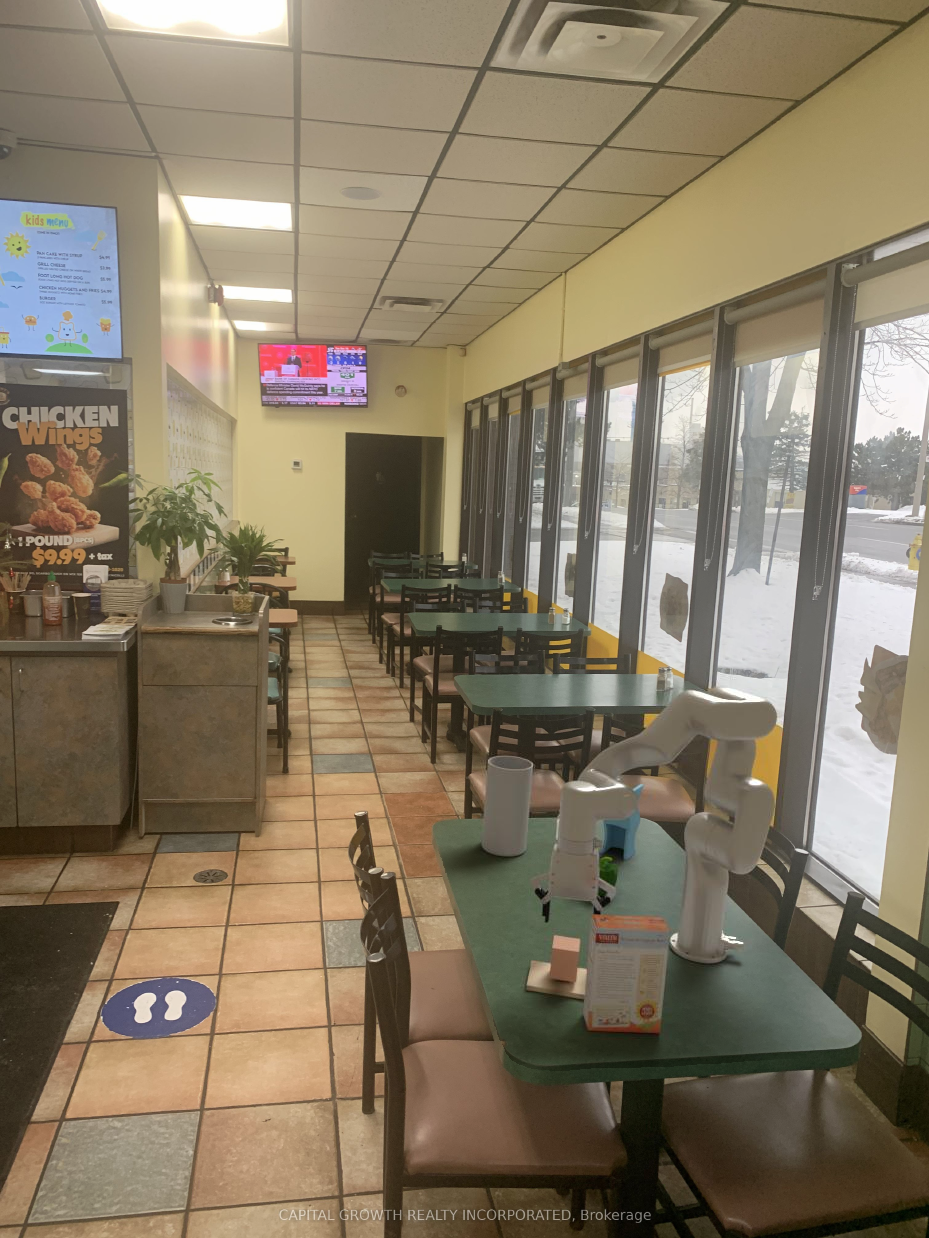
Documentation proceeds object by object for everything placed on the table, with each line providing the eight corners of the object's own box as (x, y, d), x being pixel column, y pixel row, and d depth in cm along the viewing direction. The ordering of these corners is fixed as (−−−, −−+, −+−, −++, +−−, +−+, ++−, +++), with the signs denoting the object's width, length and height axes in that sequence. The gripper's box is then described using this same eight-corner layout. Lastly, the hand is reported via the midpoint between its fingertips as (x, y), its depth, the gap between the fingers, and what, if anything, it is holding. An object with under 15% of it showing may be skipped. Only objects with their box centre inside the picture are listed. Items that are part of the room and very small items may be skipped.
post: (597, 975, 188) (601, 939, 186) (596, 1001, 178) (599, 963, 177) (531, 964, 190) (534, 929, 189) (526, 989, 180) (529, 952, 179)
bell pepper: (574, 890, 227) (578, 853, 226) (595, 883, 233) (599, 846, 231) (600, 903, 221) (604, 865, 220) (621, 895, 227) (625, 858, 225)
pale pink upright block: (577, 968, 186) (580, 938, 185) (576, 982, 181) (579, 951, 180) (551, 964, 187) (554, 935, 186) (549, 978, 181) (552, 947, 180)
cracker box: (652, 1016, 174) (663, 915, 171) (660, 1035, 168) (672, 931, 165) (581, 1012, 174) (591, 911, 171) (586, 1031, 168) (597, 927, 165)
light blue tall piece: (636, 851, 256) (643, 784, 253) (626, 860, 249) (633, 791, 246) (611, 844, 260) (617, 778, 257) (600, 852, 253) (607, 784, 250)
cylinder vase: (505, 836, 260) (511, 753, 256) (534, 851, 250) (542, 765, 246) (472, 845, 252) (478, 759, 248) (501, 861, 242) (509, 772, 238)
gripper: (619, 841, 182) (613, 919, 185) (535, 831, 185) (530, 908, 187) (619, 855, 175) (613, 937, 177) (531, 845, 177) (526, 925, 180)
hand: (570, 922), depth 182 cm, fingers open, 9 cm apart
